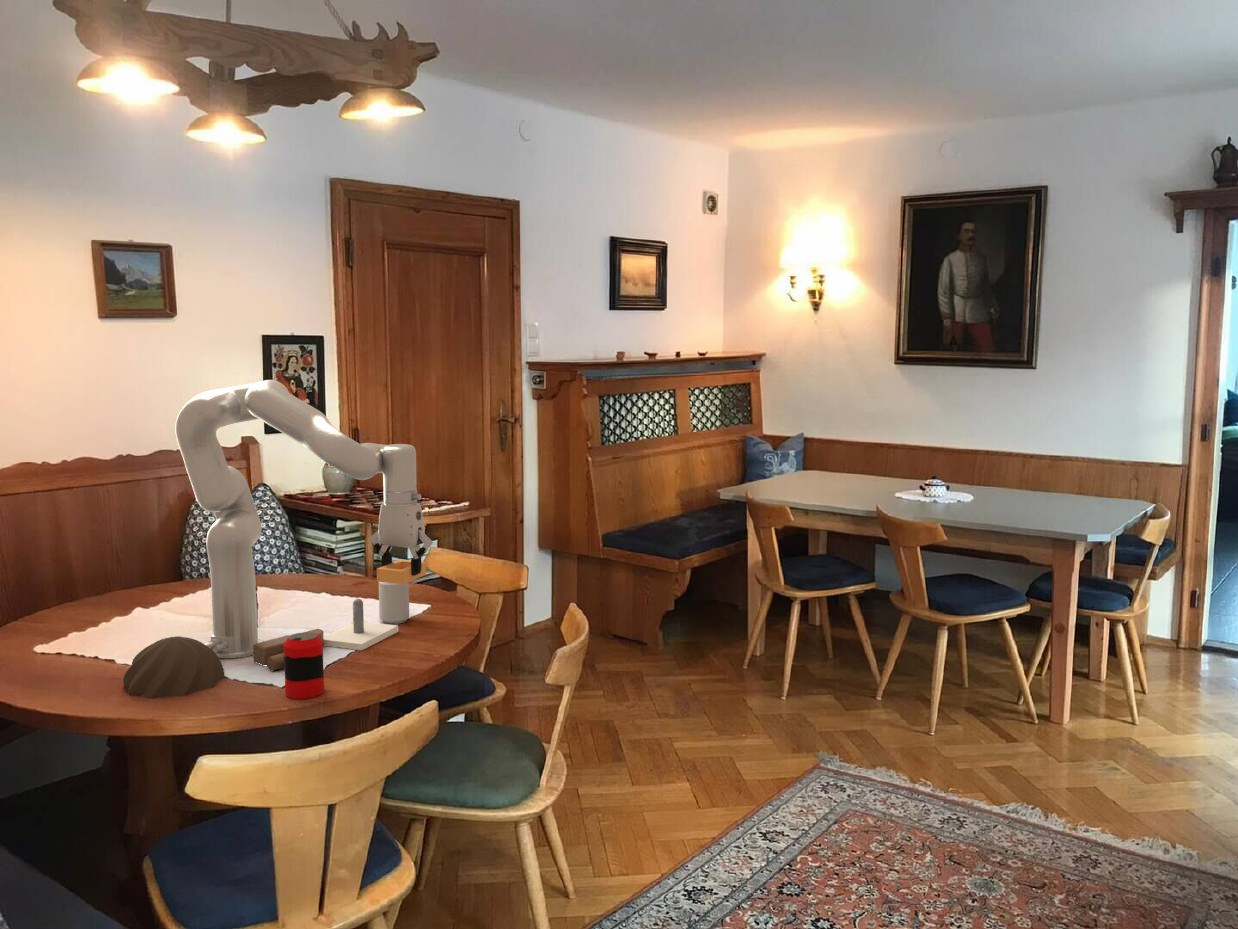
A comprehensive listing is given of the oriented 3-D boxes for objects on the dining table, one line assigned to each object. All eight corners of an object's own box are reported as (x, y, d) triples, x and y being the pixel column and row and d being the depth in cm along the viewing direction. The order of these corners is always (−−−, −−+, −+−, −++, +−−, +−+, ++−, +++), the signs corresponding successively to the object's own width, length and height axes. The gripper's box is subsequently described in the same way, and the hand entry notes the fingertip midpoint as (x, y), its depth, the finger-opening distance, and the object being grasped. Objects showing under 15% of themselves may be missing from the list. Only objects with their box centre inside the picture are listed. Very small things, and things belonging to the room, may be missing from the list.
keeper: (361, 650, 237) (360, 609, 236) (317, 645, 241) (316, 605, 239) (398, 631, 252) (397, 593, 251) (356, 626, 256) (355, 588, 254)
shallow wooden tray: (403, 584, 233) (403, 571, 233) (376, 581, 235) (376, 568, 235) (425, 574, 242) (425, 562, 242) (400, 572, 245) (399, 559, 244)
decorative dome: (241, 681, 216) (239, 636, 215) (146, 706, 202) (143, 657, 200) (199, 661, 229) (197, 618, 228) (107, 683, 215) (104, 637, 213)
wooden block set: (248, 640, 227) (317, 623, 241) (249, 665, 228) (317, 646, 242) (294, 656, 216) (363, 636, 231) (294, 681, 217) (363, 661, 231)
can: (376, 618, 263) (375, 573, 261) (405, 615, 266) (404, 570, 265) (383, 626, 256) (381, 579, 255) (412, 622, 259) (411, 576, 258)
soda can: (278, 698, 206) (275, 640, 205) (298, 685, 214) (296, 629, 212) (311, 701, 204) (309, 643, 203) (331, 688, 212) (329, 632, 210)
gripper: (441, 497, 237) (442, 572, 239) (376, 493, 243) (378, 566, 245) (425, 502, 230) (426, 580, 232) (358, 497, 236) (360, 573, 238)
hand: (401, 572), depth 239 cm, fingers closed on shallow wooden tray, 7 cm apart
